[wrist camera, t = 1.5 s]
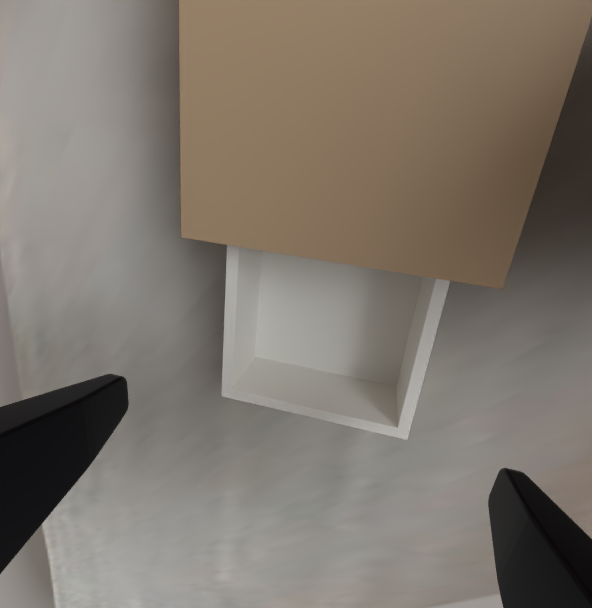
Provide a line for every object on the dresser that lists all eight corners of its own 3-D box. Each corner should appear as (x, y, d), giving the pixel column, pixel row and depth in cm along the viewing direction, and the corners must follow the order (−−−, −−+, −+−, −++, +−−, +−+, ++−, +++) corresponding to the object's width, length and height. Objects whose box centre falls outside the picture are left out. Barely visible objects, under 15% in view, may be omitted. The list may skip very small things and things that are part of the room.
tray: (535, -128, 10) (592, -242, 7) (403, 391, 16) (407, 439, 13) (281, -124, 11) (245, -221, 8) (248, 358, 17) (221, 396, 14)
